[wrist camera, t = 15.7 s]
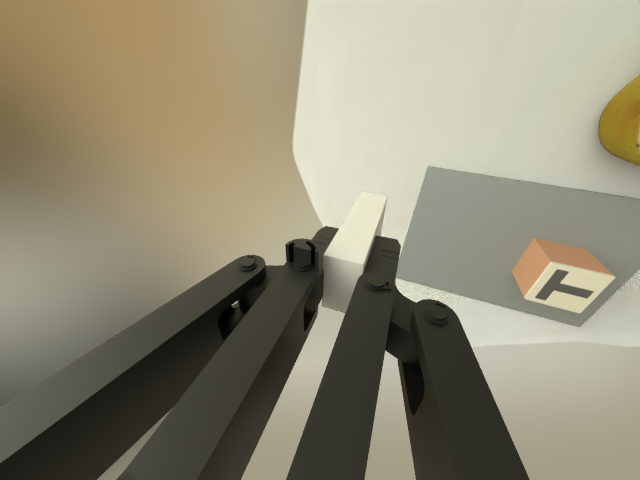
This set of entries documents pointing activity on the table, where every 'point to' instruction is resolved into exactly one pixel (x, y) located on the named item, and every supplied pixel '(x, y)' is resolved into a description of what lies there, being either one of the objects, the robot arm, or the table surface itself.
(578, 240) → the mat
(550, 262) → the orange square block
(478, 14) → the table surface
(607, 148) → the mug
